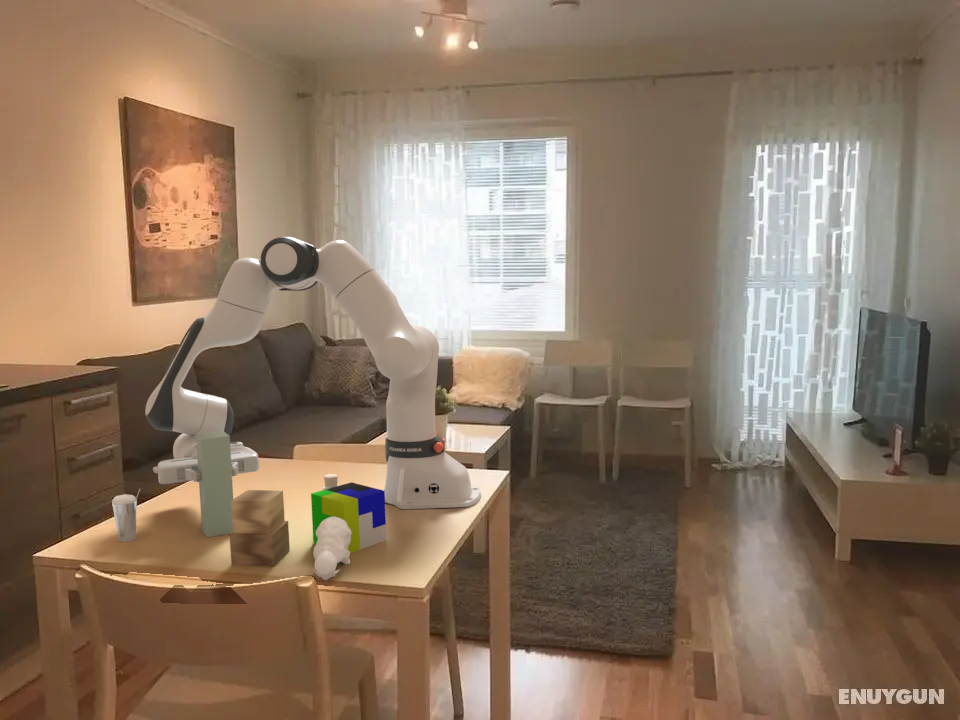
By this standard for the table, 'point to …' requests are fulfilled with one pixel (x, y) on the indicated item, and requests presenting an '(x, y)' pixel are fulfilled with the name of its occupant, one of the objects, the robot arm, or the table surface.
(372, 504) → the puzzle toy
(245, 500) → the tower top
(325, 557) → the white animal figurine
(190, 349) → the robot arm
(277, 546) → the tower bottom
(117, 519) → the milkshake
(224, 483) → the pillar
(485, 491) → the table surface
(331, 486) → the pepper shaker
